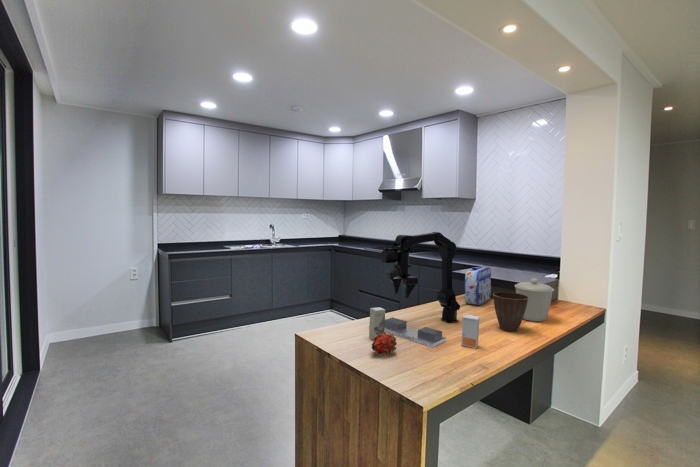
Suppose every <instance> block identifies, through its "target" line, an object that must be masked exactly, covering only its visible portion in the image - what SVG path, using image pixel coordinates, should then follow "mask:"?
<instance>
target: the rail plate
mask: <svg viewBox="0 0 700 467" xmlns="http://www.w3.org/2000/svg"><path fill="white" fill-rule="evenodd" d="M407 323H408V322H407V321H406V320H404V319H399V318H396V317H388V318H385V329H384V332H386V334H393V336H395V337H399V338H402V339H405V340H408V341H412V342H415V343H418V344H421V345H424V346H426V347H430V348H435V347H437V346H439V345H441V344H443V343H445V342H446V340H447V338H446V337H444V336H443V331H441V330H438V329H435V328H431V327H427V326H424V327H422V328H420V329H417V328H415V327H414V328H413V327H410V326H407V325H408V324H407Z"/></svg>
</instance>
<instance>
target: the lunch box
mask: <svg viewBox="0 0 700 467" xmlns="http://www.w3.org/2000/svg"><path fill="white" fill-rule="evenodd" d="M491 279H492V272H491V268H490V267H484V266H476V267H474V266H472V268H469V269H467V271H466V272H465V274H464V302H465V304H470V305H474V306H481V305H483V304H485V303H486V302H487V301H489V300H490V299H491V294H492V291H491V290H492V285H491V284H492V283H491V282H492V281H491Z"/></svg>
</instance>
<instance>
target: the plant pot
mask: <svg viewBox="0 0 700 467" xmlns="http://www.w3.org/2000/svg"><path fill="white" fill-rule="evenodd" d="M492 295H493V296H492V297H493V305H494V310H495V315H496V319H497V323H498V325H499V328H500V329H501V330H502V331H505V332H512V333H513V332H517V331H518V330H519V328H520V326H521V325H522V324H521V323H522V321H523V320H524V319H523V317H524V314H525V310H526V306H527V302H528V297H527V296H526V295H523V294H518V293H516V292H510V291H496V292H493V294H492Z"/></svg>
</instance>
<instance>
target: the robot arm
mask: <svg viewBox="0 0 700 467" xmlns="http://www.w3.org/2000/svg"><path fill="white" fill-rule="evenodd" d="M430 242H433V243H434V244H435V245H436V247H437V250H438V254H439V255H440V258H441V289H440V290H438V291H437V298H436V299H437V300H438V302H439V304H440V307H442V312H441V317H440V320H442V321H444V322H446V323H447V324H448V323H456V322H457V323H458V322H459V320H460V319H459V320H458V318H457V316H458V311H460V309H461V305H460V304H459V302H458V301H457V299H456V298H457V297H456V293H455V291H454V289H453V259H454V257H455V255H456V253H457V244H456V243H455V242H454V241H451V239H449V238H448V237H446V236H444V235H443V233H441V232H438V231H433V232H429V233H427V232H426V233H421V234H416V235H409V234H399V235H396V237H395V240H394V242H393V243H392V245H391V246H390V247H383V248H382V251H381V253H380V255H379V256H380V261H381V263H382V264H393V263H394V265H393V267H392V268H389V269H387V270H385V271H384V275H385V279H388V280H389V281H390V282H391V283H392V287H393V290H394V294H397V295H398V294H399V291H400V286H401V282H402V285H403V287H404V288H405V289H404V292H405V293H404V294H405V299H408V298H410V295H411V294H412V292H413V290H414V289H415V287H416V286H417V285H419V283H420V279H419V277H417V276H414V275H411V273H410V272H409V270H410V268H411V267H412V265H411V264H410V254H413V253H414V252H415V251H414V250H413V249H412V247H414V246H416V245H417V244H423V243H430Z"/></svg>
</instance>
